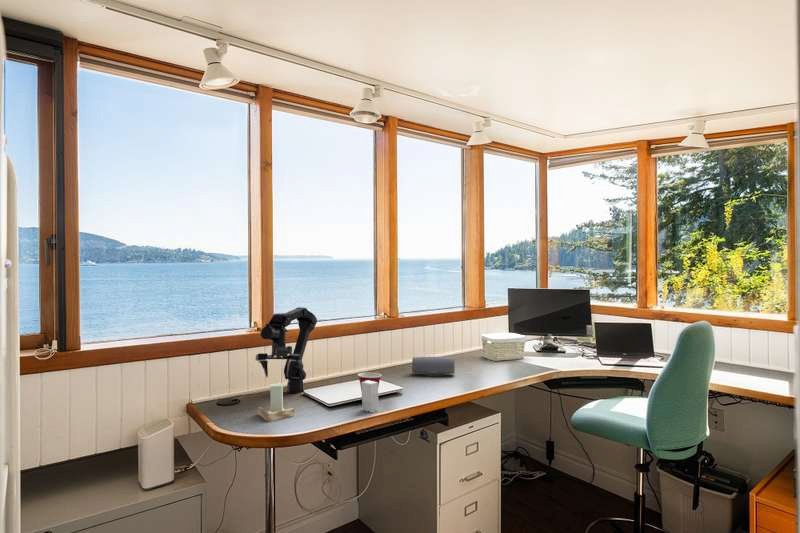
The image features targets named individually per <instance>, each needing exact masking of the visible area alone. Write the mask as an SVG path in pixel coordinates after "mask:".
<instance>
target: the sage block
mask: <svg viewBox="0 0 800 533" xmlns="http://www.w3.org/2000/svg"><path fill="white" fill-rule="evenodd" d="M283 385H284V384H283V382H276V383H271V384H270V387H269V388H270V390H269V391H270V393H269V394H270V395H269V396H270V411H271V413H272V412H277V411H282V410H283V409H284V397H283V396H284V395H283V394H284V393H283V392H284V391H283V390H284V388H283V387H284V386H283Z"/></svg>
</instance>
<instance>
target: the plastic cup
mask: <svg viewBox="0 0 800 533" xmlns="http://www.w3.org/2000/svg"><path fill="white" fill-rule="evenodd" d="M357 376H358V379H359V383H360V384H359V385H360V390H361V392H362V385H361V382H363V381H367V380H369V381H374V382H378V387H379V384H380V380H381V377H382V374H381V373H378V372H361V373H358V374H357Z"/></svg>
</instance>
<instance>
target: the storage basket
mask: <svg viewBox="0 0 800 533" xmlns="http://www.w3.org/2000/svg"><path fill="white" fill-rule="evenodd" d="M526 338H527V337H526V335H524V334H523V335H522V334H519V333H515V332H501V333H500V332H498V333H487V334H484V333H483V334H481V346H482V357H483V358H485V359H488V360H490V361H493V362H499V361H506V360H507V361H514V360H521V359H524V354H525V347H526Z"/></svg>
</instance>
